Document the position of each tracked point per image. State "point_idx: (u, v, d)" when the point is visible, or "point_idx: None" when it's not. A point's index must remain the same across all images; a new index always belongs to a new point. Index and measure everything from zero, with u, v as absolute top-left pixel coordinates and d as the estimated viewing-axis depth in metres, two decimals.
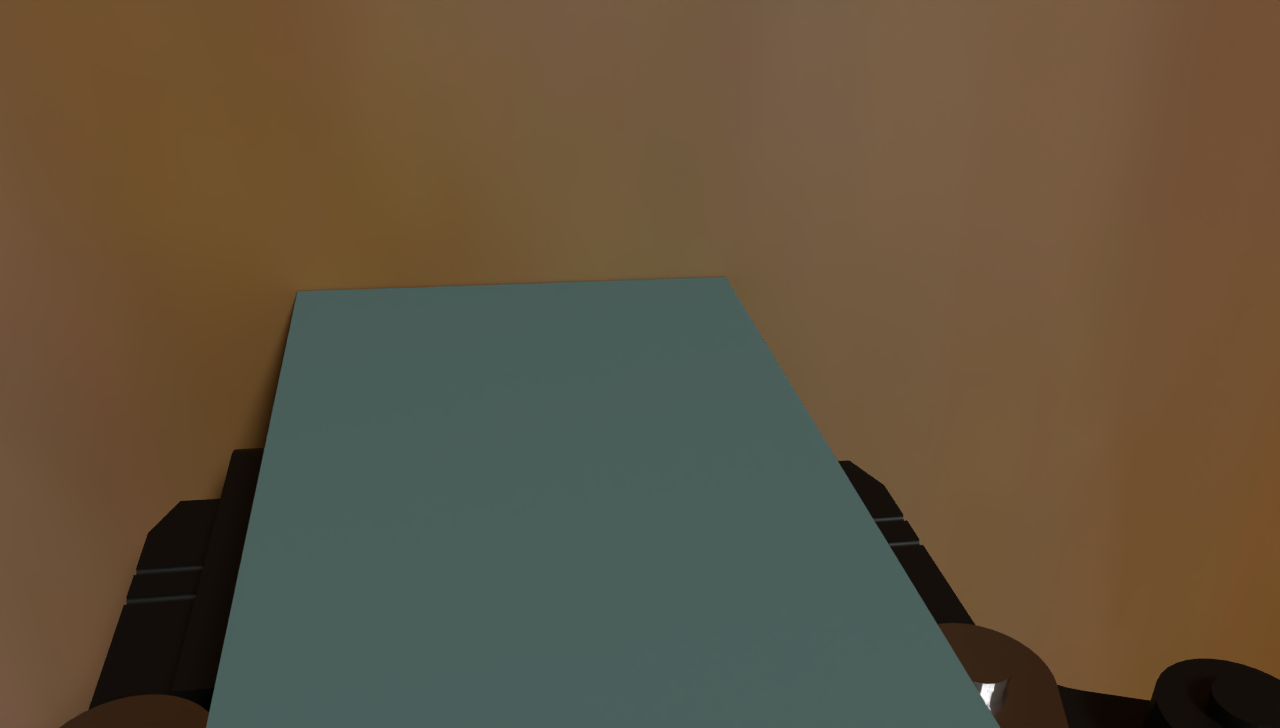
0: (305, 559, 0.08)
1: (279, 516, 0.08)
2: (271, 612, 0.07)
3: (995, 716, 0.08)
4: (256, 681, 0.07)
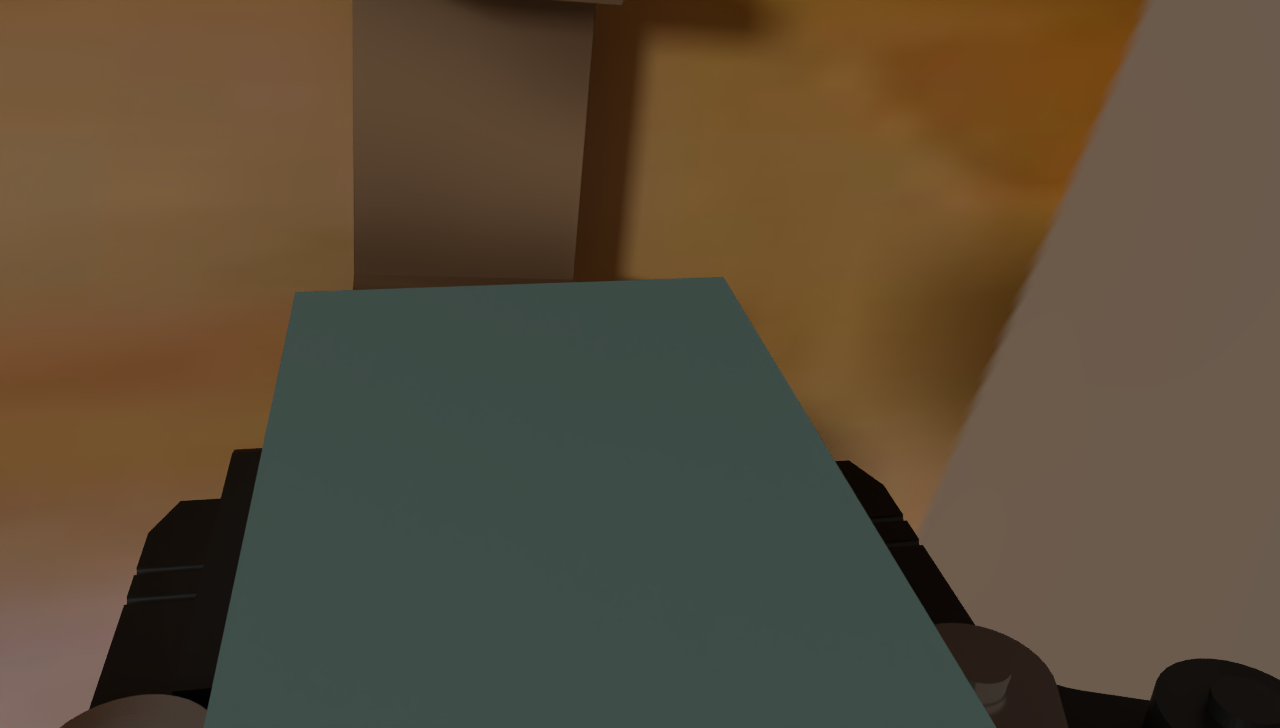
0: (301, 562, 0.08)
1: (277, 517, 0.08)
2: (268, 613, 0.07)
3: (995, 715, 0.08)
4: (253, 682, 0.07)
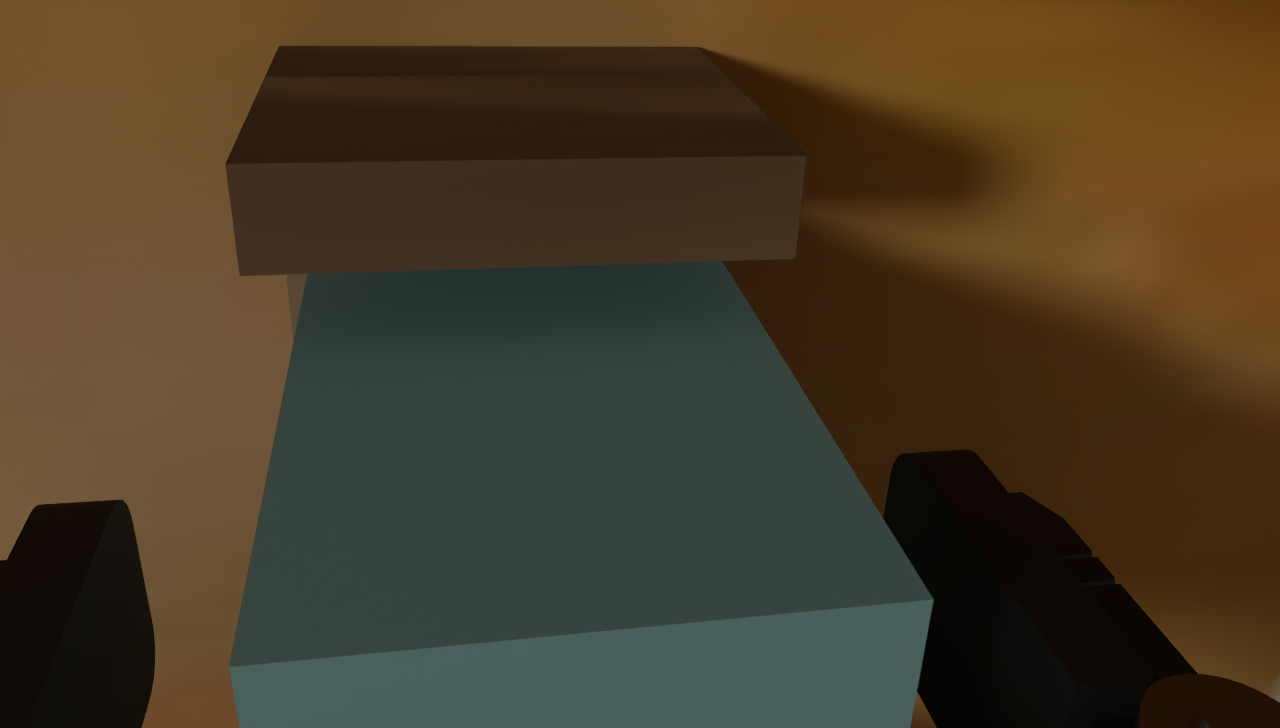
0: (326, 452, 0.09)
1: (303, 419, 0.10)
2: (299, 491, 0.09)
3: None
4: (288, 541, 0.08)
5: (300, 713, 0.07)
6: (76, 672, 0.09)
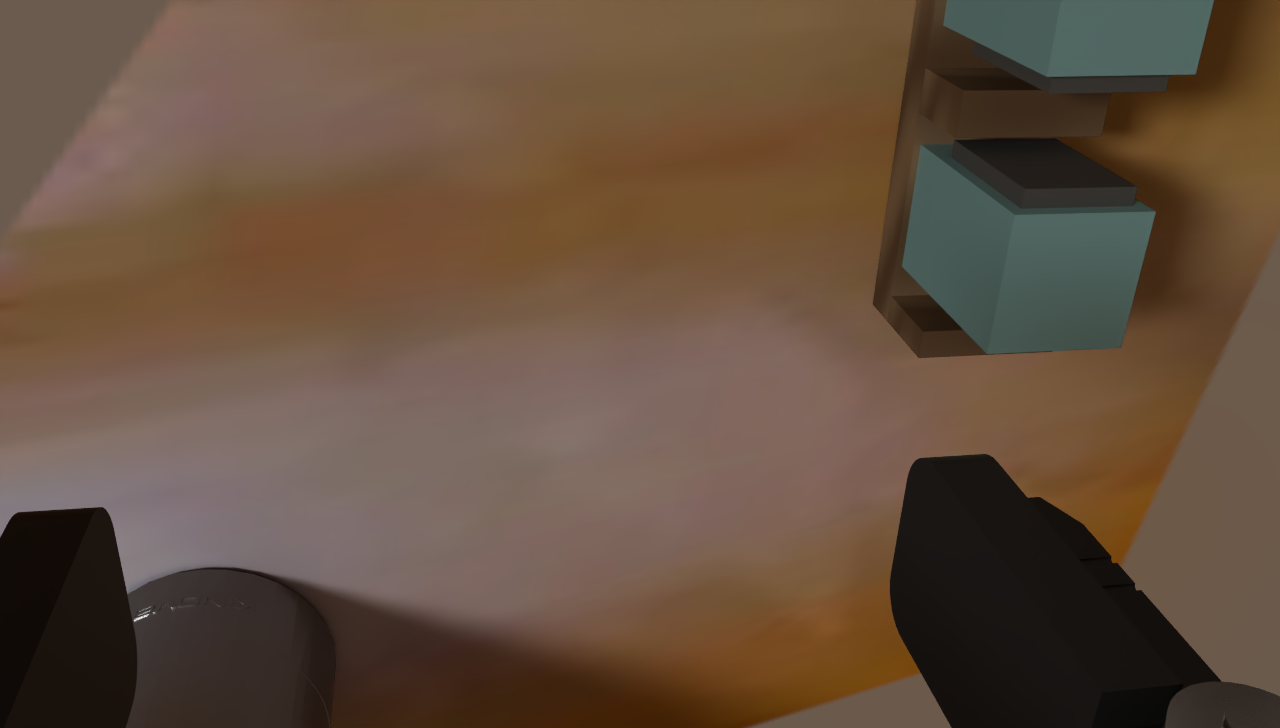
0: None
1: None
2: None
3: None
4: None
5: None
6: (51, 684, 0.09)
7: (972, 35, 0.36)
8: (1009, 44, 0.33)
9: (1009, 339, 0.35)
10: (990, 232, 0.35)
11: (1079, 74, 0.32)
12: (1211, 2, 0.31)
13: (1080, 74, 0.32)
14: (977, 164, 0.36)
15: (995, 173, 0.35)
